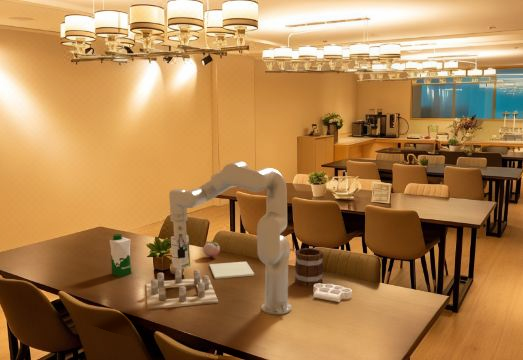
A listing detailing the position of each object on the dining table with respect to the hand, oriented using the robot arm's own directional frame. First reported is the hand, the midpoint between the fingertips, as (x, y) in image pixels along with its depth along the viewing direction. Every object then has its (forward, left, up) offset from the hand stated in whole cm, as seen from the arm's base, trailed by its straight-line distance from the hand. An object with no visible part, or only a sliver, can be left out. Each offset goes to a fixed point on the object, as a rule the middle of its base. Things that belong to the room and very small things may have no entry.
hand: (180, 255), depth 223 cm
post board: (0, 0, -18) cm, 18 cm away
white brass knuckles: (-18, -66, -19) cm, 71 cm away
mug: (+3, -63, -18) cm, 65 cm away
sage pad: (+25, -28, -18) cm, 42 cm away
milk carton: (+33, +27, -18) cm, 47 cm away
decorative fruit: (+49, -21, -18) cm, 56 cm away
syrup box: (0, 0, -6) cm, 6 cm away
